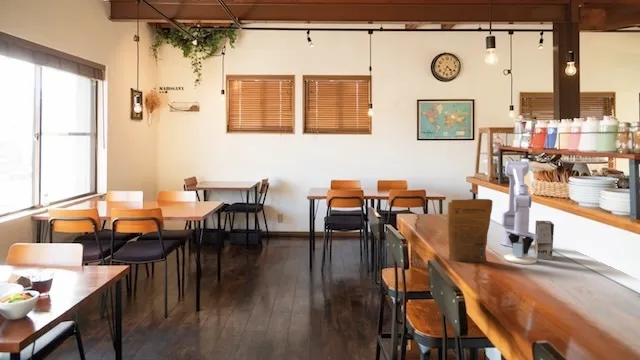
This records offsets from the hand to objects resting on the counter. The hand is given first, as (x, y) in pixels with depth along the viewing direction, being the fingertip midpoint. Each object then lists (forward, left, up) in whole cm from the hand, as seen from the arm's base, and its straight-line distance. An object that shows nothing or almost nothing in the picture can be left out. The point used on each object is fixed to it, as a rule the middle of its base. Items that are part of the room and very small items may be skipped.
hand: (520, 252), depth 187 cm
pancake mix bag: (+21, -11, -4) cm, 24 cm away
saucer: (0, 0, -4) cm, 4 cm away
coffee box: (-14, +2, -4) cm, 15 cm away
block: (0, 0, -2) cm, 2 cm away
